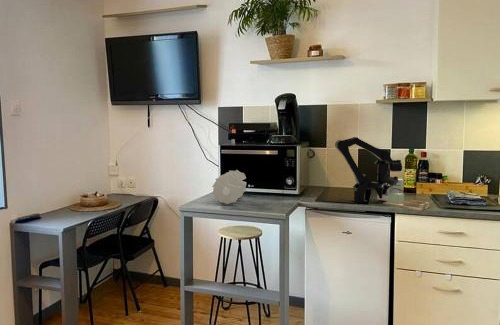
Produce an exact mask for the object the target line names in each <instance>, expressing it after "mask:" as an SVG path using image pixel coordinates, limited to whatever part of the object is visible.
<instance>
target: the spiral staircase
mask: <svg viewBox="0 0 500 325" xmlns="http://www.w3.org/2000/svg"><path fill="white" fill-rule="evenodd" d="M246 179H247V177H246V174H245V173H244V172H241V171H239V170H238V169H235V170H228V172H225V173H224V174H221V175H220V176H218V177H217V178H215V182H214V183H213V184H212V187H213V190H212V195H213V197H214V199H216V200H217V202H219V203H220V204H225V205H229V204H232V203H236V202H237V201H238V198H242V197H243V194H244V193H245V192H246V191H247V189H246V188H247V181H244V180H246Z"/></svg>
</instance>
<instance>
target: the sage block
mask: <svg viewBox="0 0 500 325" xmlns="http://www.w3.org/2000/svg"><path fill="white" fill-rule="evenodd" d="M376 199H377V200H378V201H379V200H380V201H384V202H392V203H398V204H400V203H403V202H404V201H405V193H403V192H402V193H396V192H391V193H388V195H387V194H385V195H384V194H382V198H379V195H378V193H377V194H376Z"/></svg>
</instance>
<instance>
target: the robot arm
mask: <svg viewBox="0 0 500 325" xmlns="http://www.w3.org/2000/svg"><path fill="white" fill-rule="evenodd" d="M354 145H356V146H357V147H359V148H361V149H364V150H366V151H368V152H370V153H371V154H372V155H374V156H375V157H376V158H377V159H376V160H375V162H374V163H373V164H375V165H377V173H375V175H376V176H377V177H376V178H377V179H376V180H375V181H370V179H369V178H368V176H367V174H365V173H362V172H361V170H360V169H359V167H358V165H357V163H356V162H355V160H354V159H353V158H354V157H353V156H352V154H351V153H350V149H349V148H350V147H352V146H354ZM334 146H335V149H336V150H337V151H338V152H339V153H340V154H341V155H342V157H343V158H344V160H345V162H346V163H347V165H348V168H350V171H351V172H352V173H353V175H354V179H355V182H356V183H354V185H353V187H352V188H353V189H352V190H354V195H353V200H351V202H353V203H359V204H364V203H366V202H368V200H366V192H367V190H368V189H369V188H374V190H375V191H376V193H377V194H378V195H379V198H382V194H384V195H387V189H388V188H389V187H391V186H394V185H396V184H397V183H398V179H399V177H398V176H397V175H395V176H391V175H390V174H391V173H389V171H390V172H393V173H394V172H399V173H400V172H402V171H403V165H402V160H401V159H393V158H392V157H391V155H390V152H389V151H388V150H385V149H382V148H378V147H375V146H374V145H371V144H370V143H368V142H366V141H364V140H363V139H360V138H359V137H357V136H353V137H350V138H347V139H343V140H342V139H337V140H336V141H335V143H334ZM388 184H390V185H391V186H389V185H388Z"/></svg>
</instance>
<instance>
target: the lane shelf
mask: <svg viewBox="0 0 500 325" xmlns="http://www.w3.org/2000/svg"><path fill="white" fill-rule="evenodd" d="M382 204H383V205H387V206H392V207H398V208H403V209H409V210H414V211H420V212H421V211H423V210H426V209H428V208H431V205H430V202H428V201H421V200H415V199H409V201H405V200H404V202H403V203H400V204H398V203H392V202H388V201H384V202H383V203H382Z"/></svg>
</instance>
